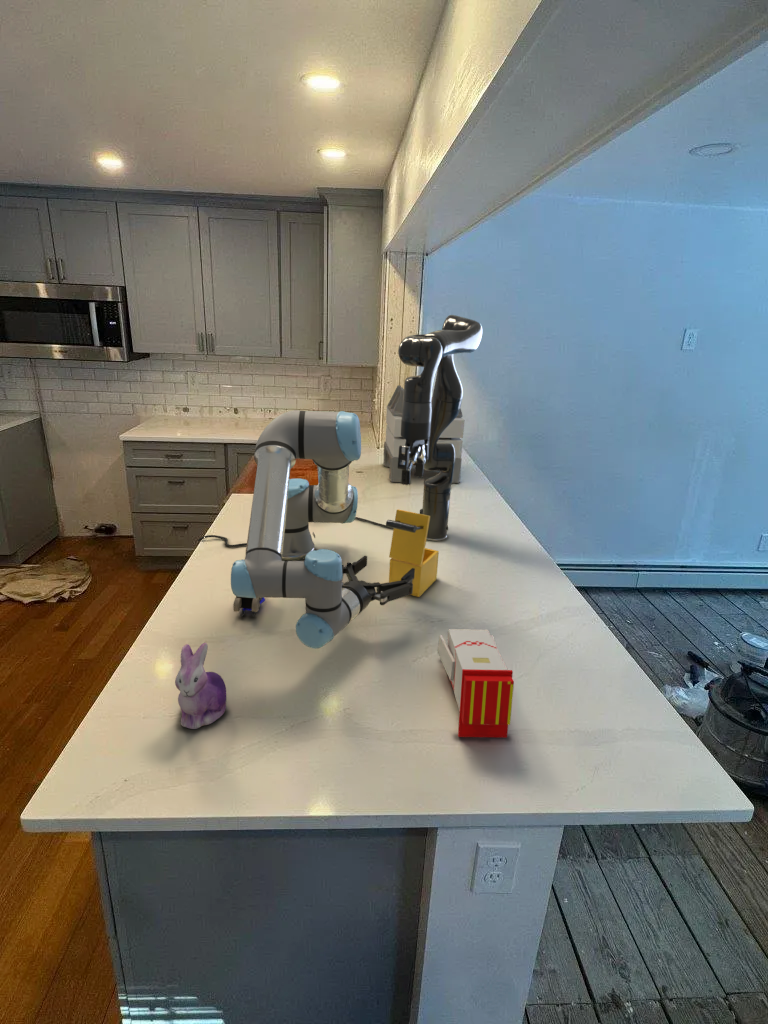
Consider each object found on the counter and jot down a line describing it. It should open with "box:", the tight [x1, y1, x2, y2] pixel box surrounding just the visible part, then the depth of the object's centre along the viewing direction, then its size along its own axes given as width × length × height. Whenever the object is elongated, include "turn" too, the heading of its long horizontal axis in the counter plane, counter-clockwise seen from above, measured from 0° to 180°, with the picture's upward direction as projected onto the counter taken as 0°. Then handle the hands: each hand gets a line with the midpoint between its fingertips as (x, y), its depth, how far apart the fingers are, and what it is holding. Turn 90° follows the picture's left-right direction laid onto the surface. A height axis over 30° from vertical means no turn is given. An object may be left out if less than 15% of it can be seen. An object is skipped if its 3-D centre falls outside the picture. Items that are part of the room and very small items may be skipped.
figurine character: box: [232, 596, 266, 617], centre depth 147 cm, size 7×8×15 cm
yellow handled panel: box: [385, 509, 430, 565], centre depth 151 cm, size 14×10×9 cm
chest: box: [388, 547, 440, 598], centre depth 162 cm, size 13×10×9 cm
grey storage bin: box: [383, 384, 465, 484], centre depth 268 cm, size 34×33×41 cm
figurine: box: [174, 642, 227, 730], centre depth 106 cm, size 9×10×15 cm
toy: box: [437, 628, 515, 738], centre depth 117 cm, size 12×13×30 cm
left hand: (389, 566), depth 145 cm, fingers open, 13 cm apart
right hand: (412, 480), depth 149 cm, fingers open, 8 cm apart
